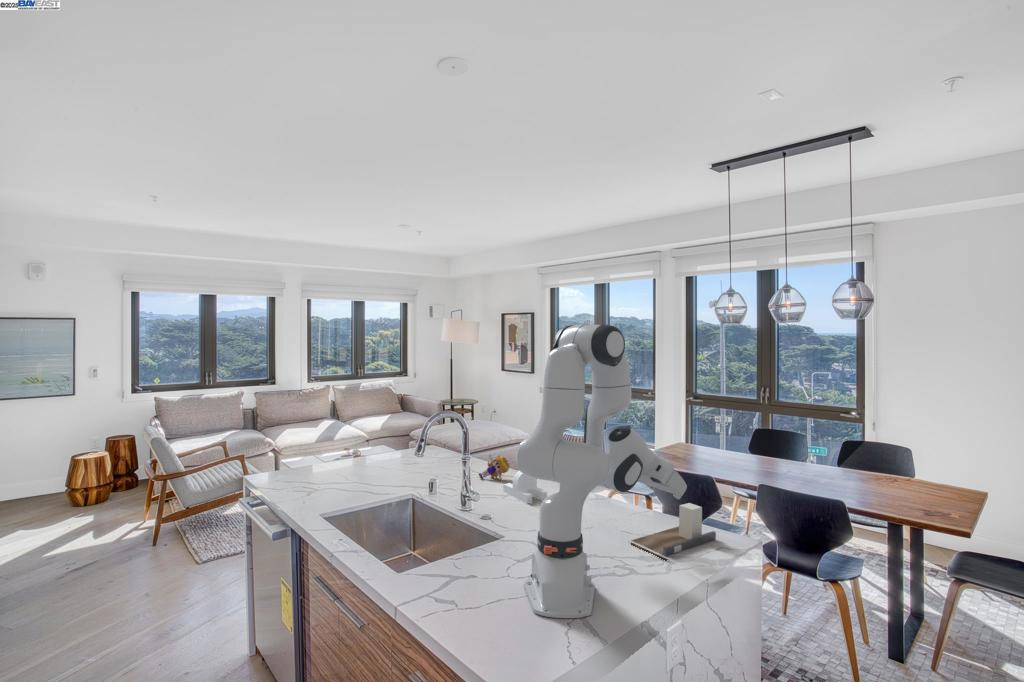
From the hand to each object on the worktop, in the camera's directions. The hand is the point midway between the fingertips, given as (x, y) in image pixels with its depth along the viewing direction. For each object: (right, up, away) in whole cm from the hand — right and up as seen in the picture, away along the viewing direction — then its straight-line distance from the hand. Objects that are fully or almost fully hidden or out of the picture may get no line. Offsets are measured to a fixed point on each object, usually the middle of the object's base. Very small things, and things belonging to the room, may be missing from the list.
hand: (666, 492), depth 160 cm
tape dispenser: (-43, -17, +52) cm, 70 cm away
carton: (+10, -16, +7) cm, 20 cm away
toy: (-57, -17, +77) cm, 97 cm away
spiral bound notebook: (+3, -18, +4) cm, 19 cm away
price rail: (+7, -16, -2) cm, 18 cm away
